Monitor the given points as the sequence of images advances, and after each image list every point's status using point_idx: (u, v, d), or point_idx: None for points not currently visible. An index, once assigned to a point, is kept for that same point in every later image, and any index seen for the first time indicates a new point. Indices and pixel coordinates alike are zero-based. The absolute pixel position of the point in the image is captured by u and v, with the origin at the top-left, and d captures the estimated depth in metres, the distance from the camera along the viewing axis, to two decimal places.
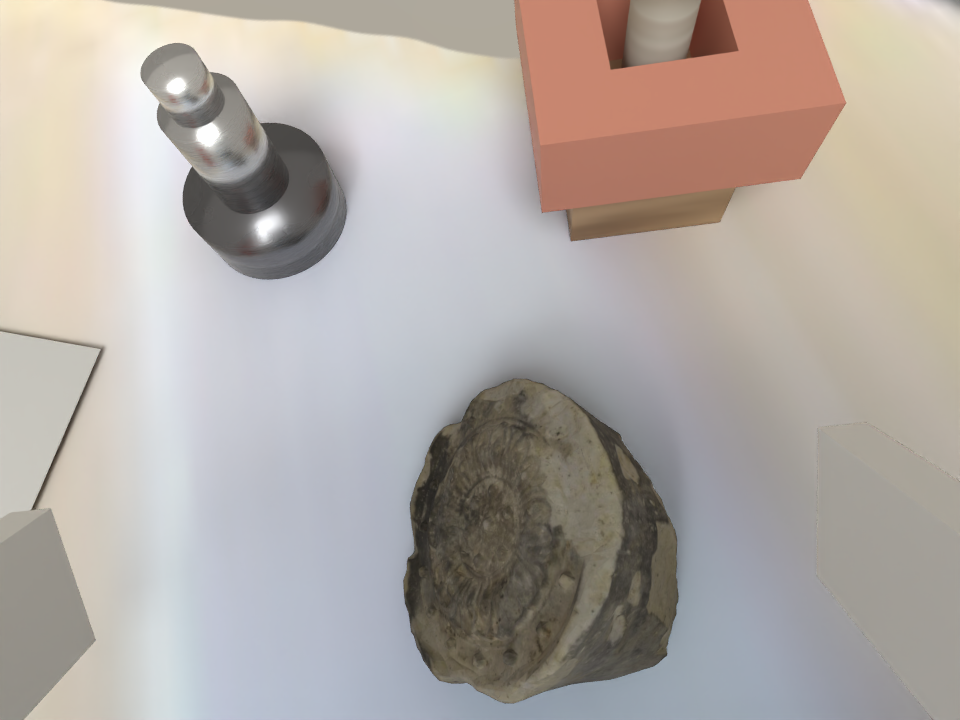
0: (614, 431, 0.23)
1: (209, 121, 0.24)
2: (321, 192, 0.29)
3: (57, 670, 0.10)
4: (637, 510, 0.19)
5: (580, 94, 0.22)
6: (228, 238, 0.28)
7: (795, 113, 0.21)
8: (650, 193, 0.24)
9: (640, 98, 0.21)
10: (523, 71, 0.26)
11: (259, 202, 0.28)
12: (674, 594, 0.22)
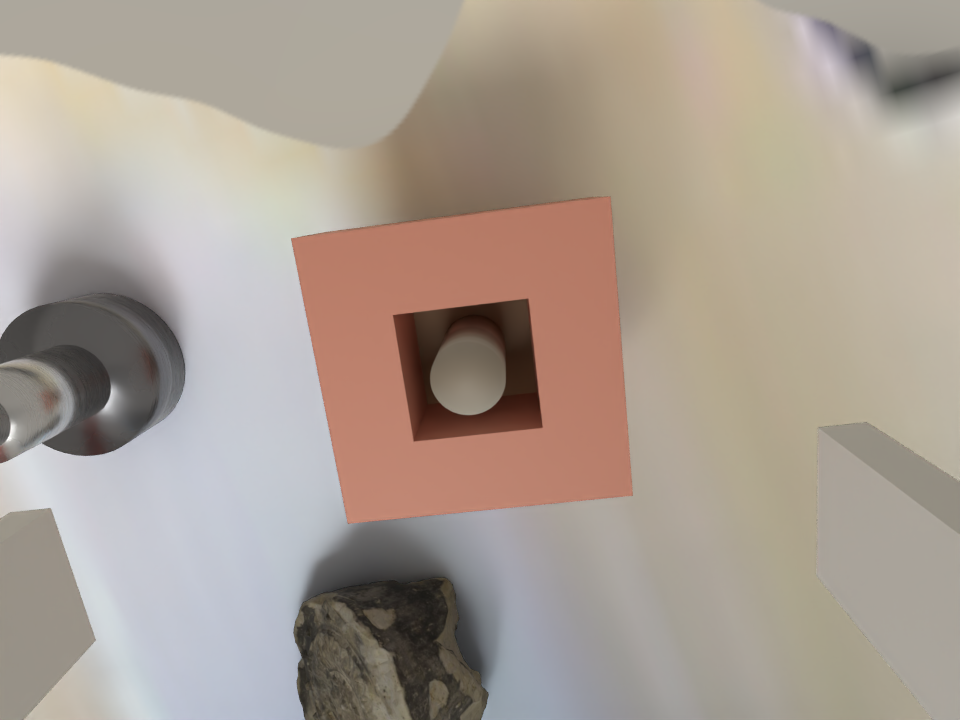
0: (438, 634, 0.29)
1: (2, 441, 0.23)
2: (149, 396, 0.28)
3: (57, 671, 0.10)
4: None
5: (383, 469, 0.21)
6: (68, 444, 0.28)
7: (586, 497, 0.22)
8: None
9: (442, 477, 0.22)
10: None
11: (87, 418, 0.27)
12: (481, 712, 0.32)
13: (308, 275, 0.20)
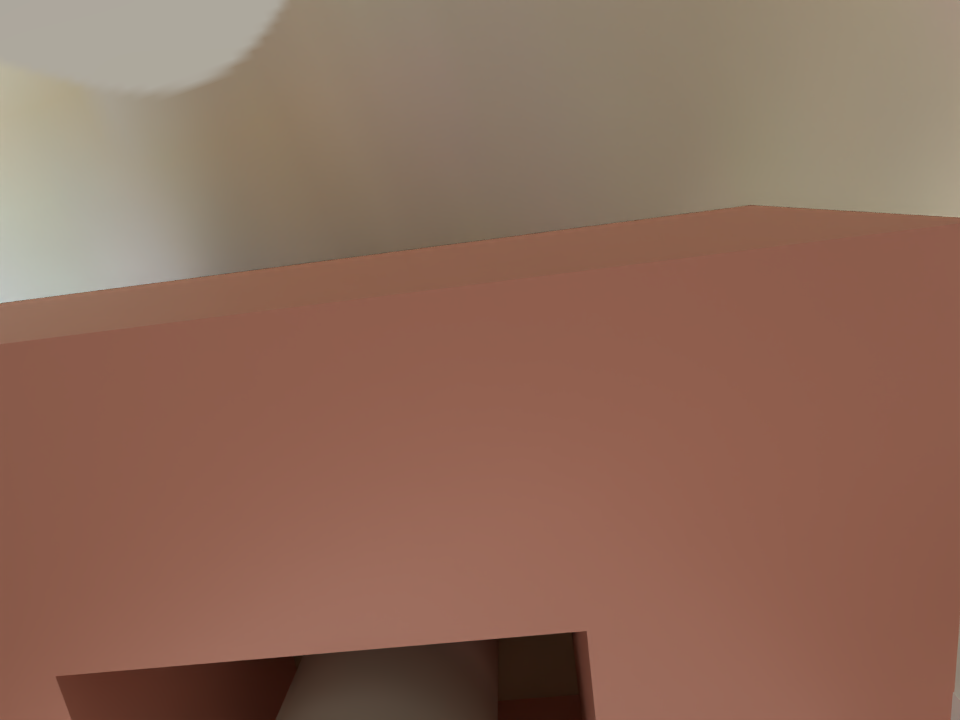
0: None
1: None
2: None
3: None
4: None
5: None
6: None
7: None
8: None
9: None
10: None
11: None
12: None
13: None
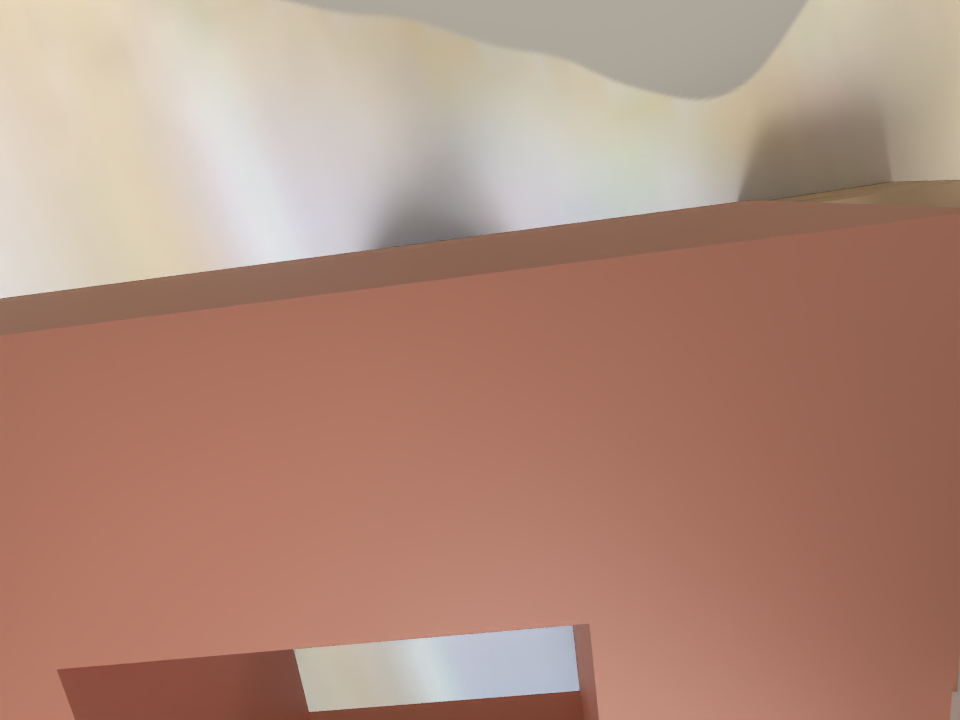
0: None
1: None
2: None
3: None
4: None
5: None
6: None
7: None
8: None
9: None
10: None
11: None
12: None
13: None
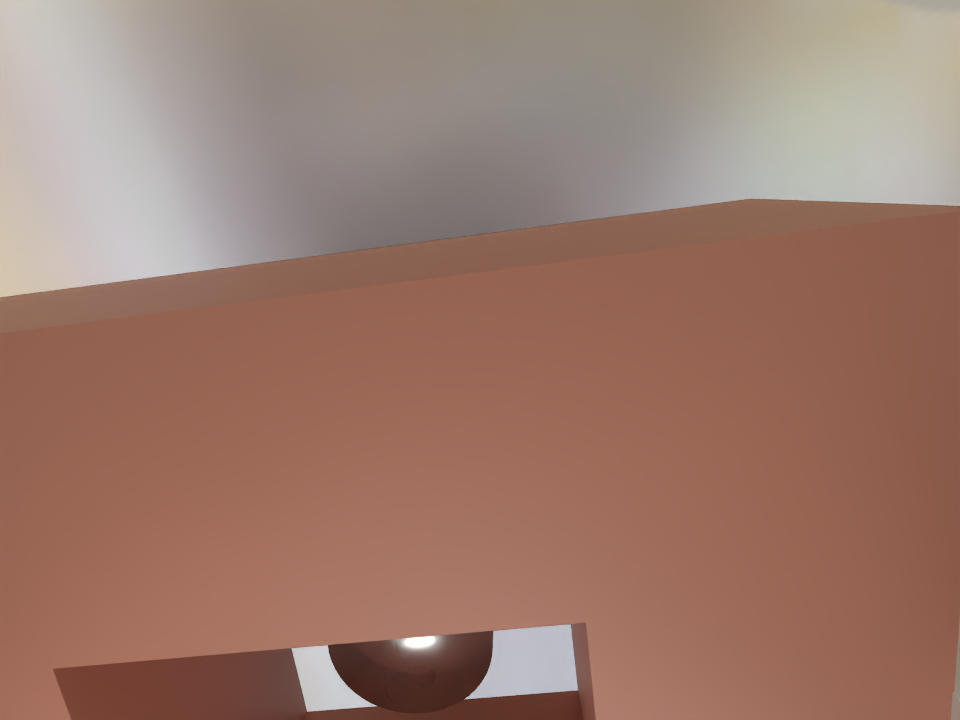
0: None
1: None
2: None
3: None
4: None
5: None
6: None
7: None
8: None
9: None
10: None
11: None
12: None
13: None
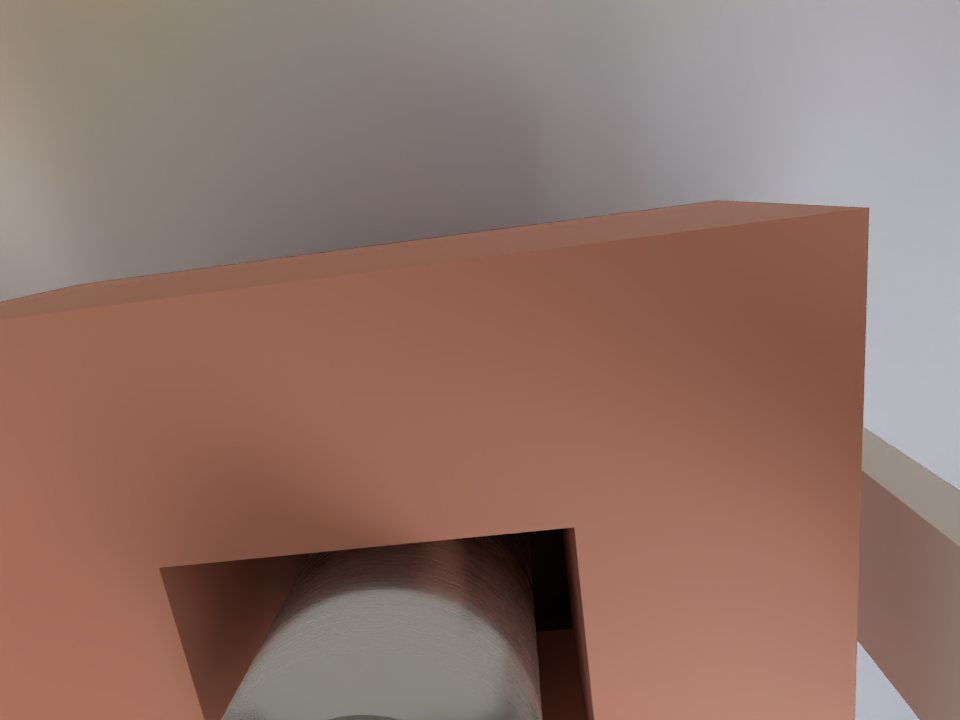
0: None
1: None
2: None
3: None
4: None
5: None
6: None
7: None
8: None
9: None
10: None
11: None
12: None
13: None
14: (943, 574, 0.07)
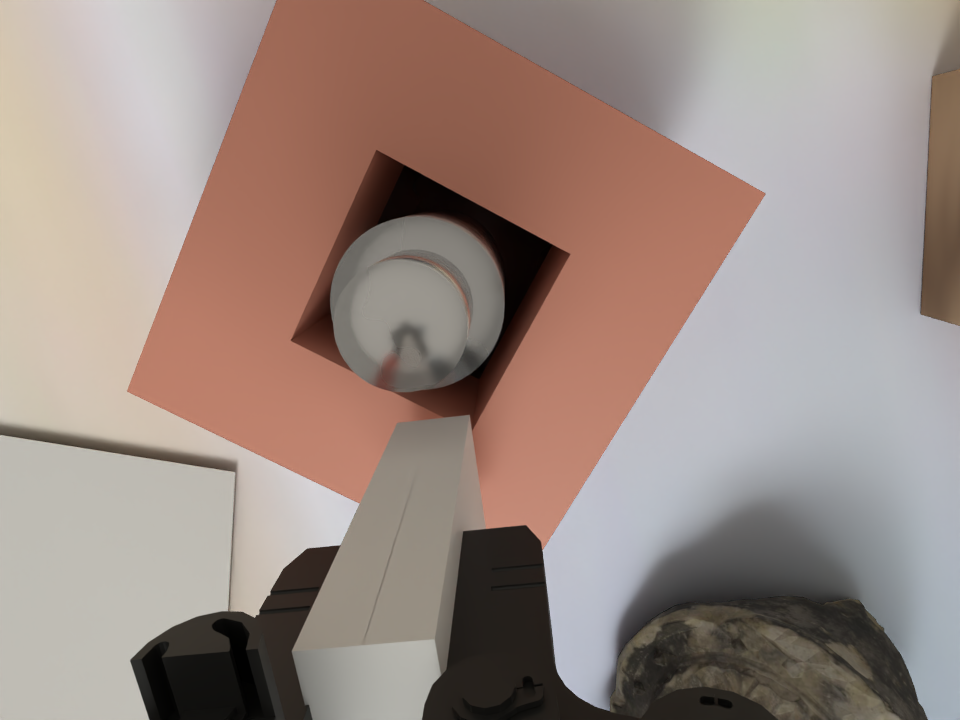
0: (914, 691, 0.19)
1: None
2: None
3: None
4: None
5: (224, 351, 0.14)
6: None
7: None
8: None
9: (297, 412, 0.14)
10: None
11: None
12: None
13: (292, 6, 0.12)
14: None
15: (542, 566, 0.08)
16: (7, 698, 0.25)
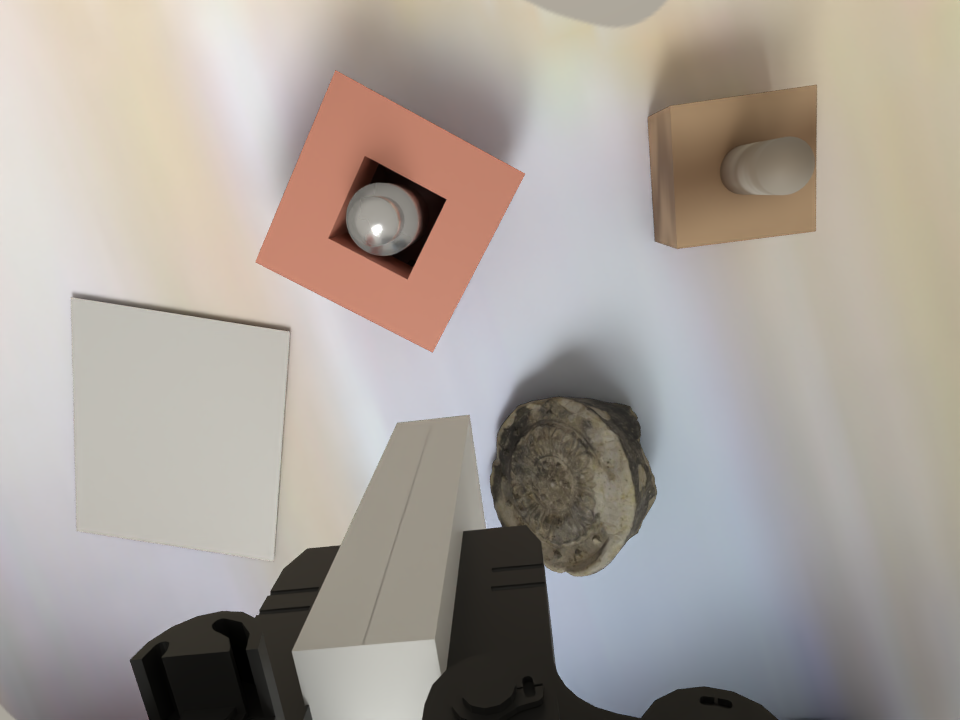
0: (638, 436, 0.37)
1: None
2: None
3: None
4: (641, 505, 0.35)
5: (299, 243, 0.31)
6: None
7: (406, 338, 0.32)
8: None
9: (330, 271, 0.31)
10: None
11: None
12: (646, 514, 0.39)
13: (331, 98, 0.29)
14: None
15: (542, 566, 0.08)
16: (153, 473, 0.42)
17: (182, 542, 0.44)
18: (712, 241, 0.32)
